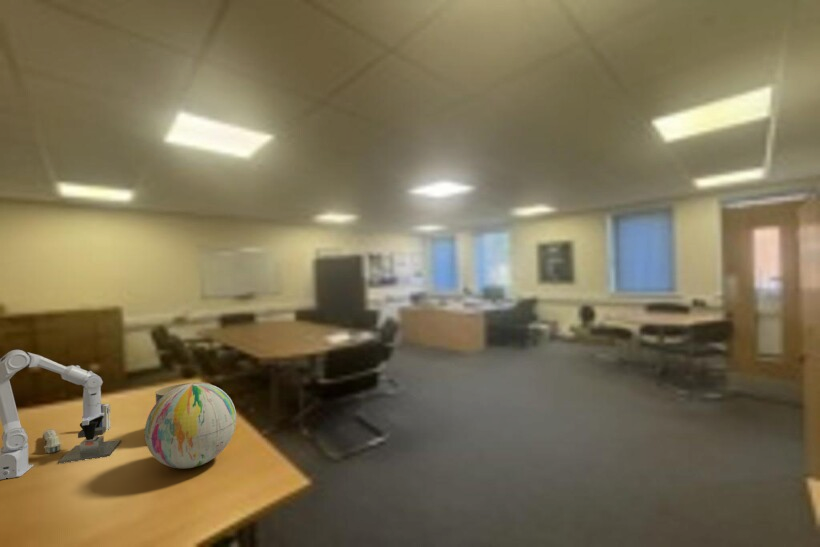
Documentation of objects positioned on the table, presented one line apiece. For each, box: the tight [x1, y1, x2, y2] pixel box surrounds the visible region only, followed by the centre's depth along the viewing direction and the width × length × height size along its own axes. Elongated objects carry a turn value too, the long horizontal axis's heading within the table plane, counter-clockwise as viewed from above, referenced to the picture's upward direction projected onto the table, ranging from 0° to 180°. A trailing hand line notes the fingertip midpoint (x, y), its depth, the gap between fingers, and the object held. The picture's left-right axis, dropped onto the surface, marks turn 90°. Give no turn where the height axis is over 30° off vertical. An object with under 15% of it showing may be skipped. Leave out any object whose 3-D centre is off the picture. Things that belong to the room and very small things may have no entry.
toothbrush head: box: [42, 428, 62, 454], centre depth 169 cm, size 5×7×25 cm
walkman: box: [100, 403, 111, 431], centre depth 186 cm, size 8×3×12 cm, turn 98°
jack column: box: [77, 427, 107, 442], centre depth 161 cm, size 4×8×8 cm, turn 112°
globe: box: [144, 382, 237, 469], centre depth 148 cm, size 30×30×30 cm
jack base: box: [58, 435, 123, 465], centre depth 161 cm, size 16×16×5 cm
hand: (92, 437), depth 161 cm, fingers closed on jack column, 4 cm apart
